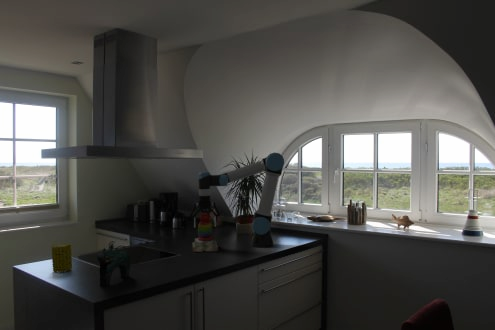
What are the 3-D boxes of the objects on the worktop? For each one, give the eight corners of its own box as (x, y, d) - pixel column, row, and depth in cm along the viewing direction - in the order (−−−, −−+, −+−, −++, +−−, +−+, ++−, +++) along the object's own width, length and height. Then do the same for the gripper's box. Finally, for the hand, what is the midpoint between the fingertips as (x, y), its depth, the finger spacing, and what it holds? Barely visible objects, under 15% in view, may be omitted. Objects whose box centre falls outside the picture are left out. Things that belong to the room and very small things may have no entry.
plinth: (215, 245, 270) (215, 237, 270) (217, 250, 254) (217, 241, 254) (192, 246, 267) (192, 237, 267) (192, 251, 252) (192, 242, 252)
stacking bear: (210, 241, 254) (210, 214, 254) (195, 241, 256) (195, 214, 256) (214, 238, 265) (214, 212, 265) (200, 238, 267) (200, 212, 267)
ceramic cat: (105, 288, 180) (104, 244, 180) (94, 286, 182) (93, 243, 182) (132, 276, 198) (132, 236, 198) (122, 275, 201) (122, 236, 201)
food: (57, 277, 202) (51, 274, 210) (80, 267, 210) (73, 265, 218) (49, 249, 200) (43, 247, 208) (72, 241, 208) (66, 239, 216)
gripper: (222, 194, 266) (223, 225, 266) (185, 195, 262) (186, 226, 262) (223, 195, 259) (224, 227, 259) (185, 196, 255) (186, 228, 255)
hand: (205, 227), depth 261 cm, fingers open, 13 cm apart
